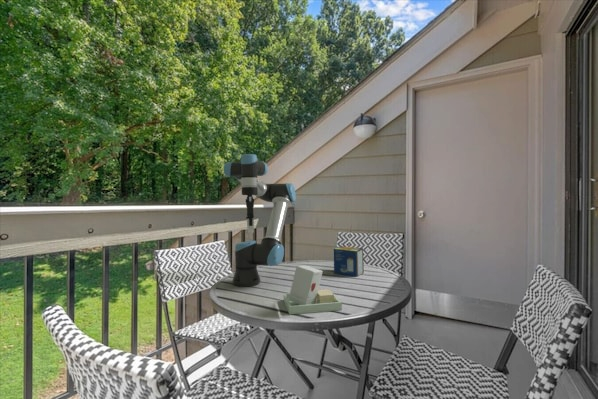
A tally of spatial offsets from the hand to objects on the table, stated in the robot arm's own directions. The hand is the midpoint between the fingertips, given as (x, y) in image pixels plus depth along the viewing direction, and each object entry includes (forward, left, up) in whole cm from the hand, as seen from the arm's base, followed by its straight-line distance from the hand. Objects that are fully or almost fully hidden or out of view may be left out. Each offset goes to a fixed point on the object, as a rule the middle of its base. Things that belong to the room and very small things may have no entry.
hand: (250, 231), depth 150 cm
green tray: (+20, +25, -32) cm, 45 cm away
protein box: (-31, +60, -32) cm, 75 cm away
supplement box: (+20, +21, -29) cm, 41 cm away
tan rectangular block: (+20, +31, -31) cm, 48 cm away
